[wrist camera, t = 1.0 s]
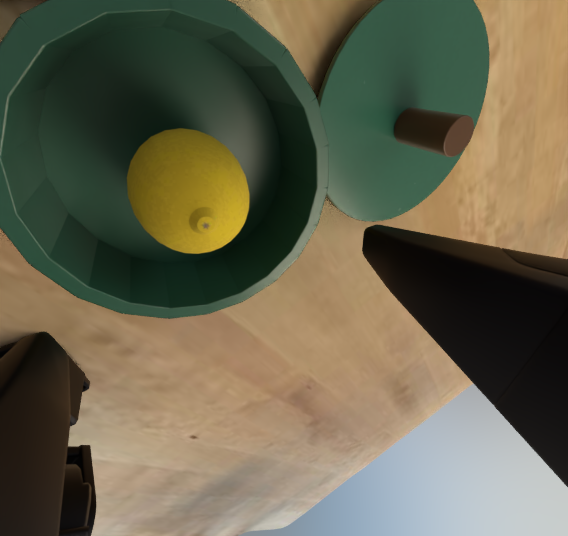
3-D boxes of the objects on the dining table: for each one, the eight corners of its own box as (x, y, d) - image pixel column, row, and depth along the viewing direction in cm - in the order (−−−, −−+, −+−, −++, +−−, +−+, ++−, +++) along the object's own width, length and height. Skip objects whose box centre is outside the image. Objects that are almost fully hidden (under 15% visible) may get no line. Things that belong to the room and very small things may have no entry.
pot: (106, 294, 20) (99, 353, 16) (-72, 15, 11) (-195, -16, 7) (294, 237, 24) (327, 272, 20) (278, -2, 15) (333, -27, 11)
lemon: (104, 143, 15) (85, 196, 9) (200, 101, 15) (242, 122, 9) (164, 227, 18) (179, 304, 12) (239, 189, 19) (288, 245, 13)
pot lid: (310, 236, 24) (347, 271, 20) (303, -13, 15) (369, -44, 11) (445, 194, 28) (498, 216, 24) (506, -20, 19) (610, -44, 15)
